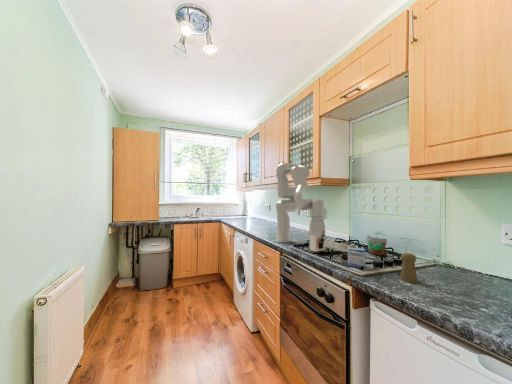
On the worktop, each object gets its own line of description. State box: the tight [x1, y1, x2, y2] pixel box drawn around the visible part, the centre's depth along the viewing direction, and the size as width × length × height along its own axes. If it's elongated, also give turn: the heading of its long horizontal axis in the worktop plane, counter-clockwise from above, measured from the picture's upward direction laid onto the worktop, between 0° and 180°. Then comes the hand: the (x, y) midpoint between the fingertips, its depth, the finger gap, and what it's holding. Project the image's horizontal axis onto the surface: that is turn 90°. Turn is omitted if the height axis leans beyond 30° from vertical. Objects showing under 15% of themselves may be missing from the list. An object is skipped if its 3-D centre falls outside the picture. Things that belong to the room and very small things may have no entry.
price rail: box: [325, 239, 356, 253], centre depth 147 cm, size 30×2×6 cm, turn 30°
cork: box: [399, 252, 418, 284], centre depth 93 cm, size 6×6×11 cm
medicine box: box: [347, 247, 366, 269], centre depth 112 cm, size 8×4×9 cm, turn 68°
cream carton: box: [309, 236, 326, 253], centre depth 141 cm, size 5×8×9 cm, turn 120°
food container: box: [365, 235, 388, 257], centre depth 134 cm, size 12×6×10 cm, turn 25°
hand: (317, 247), depth 141 cm, fingers closed on cream carton, 5 cm apart
